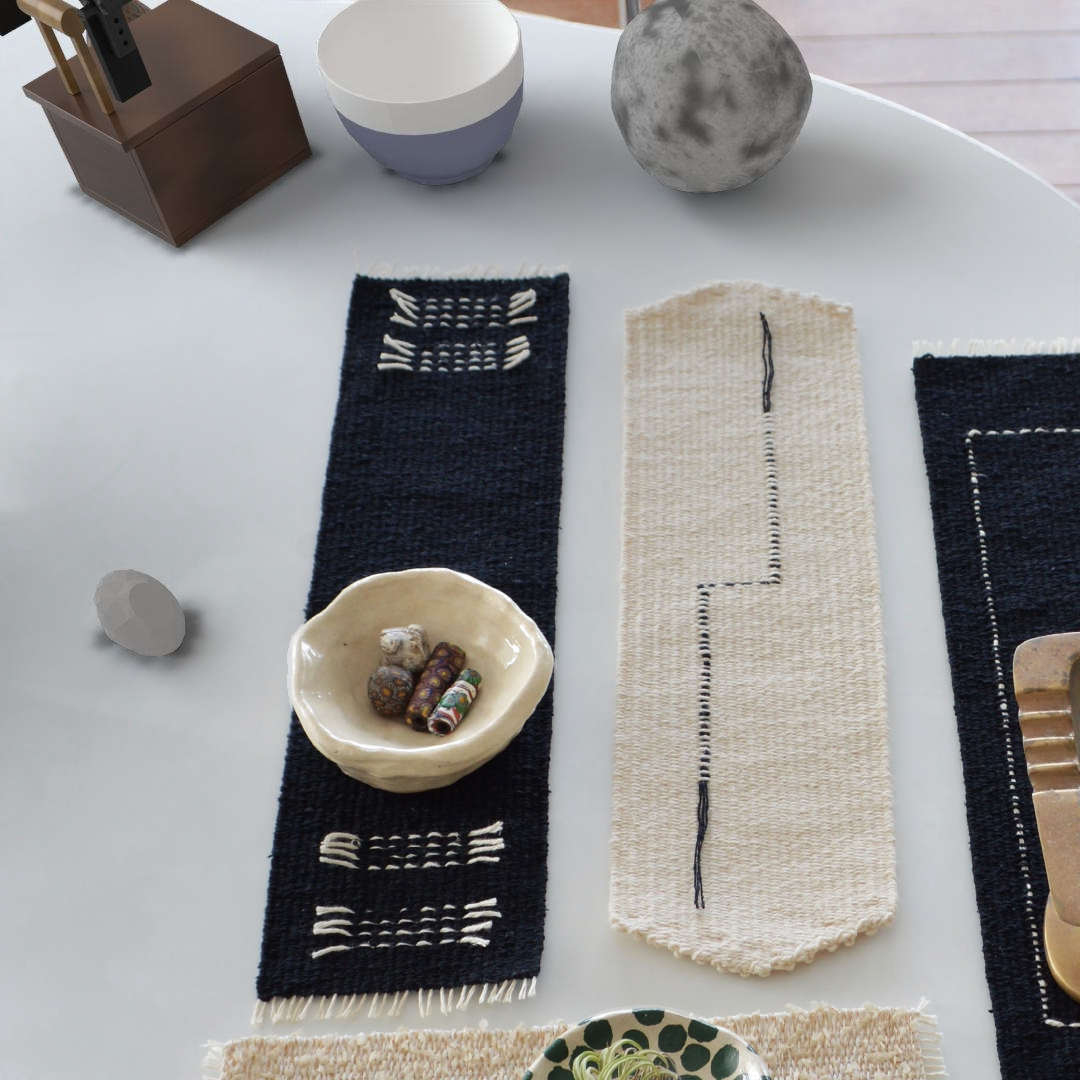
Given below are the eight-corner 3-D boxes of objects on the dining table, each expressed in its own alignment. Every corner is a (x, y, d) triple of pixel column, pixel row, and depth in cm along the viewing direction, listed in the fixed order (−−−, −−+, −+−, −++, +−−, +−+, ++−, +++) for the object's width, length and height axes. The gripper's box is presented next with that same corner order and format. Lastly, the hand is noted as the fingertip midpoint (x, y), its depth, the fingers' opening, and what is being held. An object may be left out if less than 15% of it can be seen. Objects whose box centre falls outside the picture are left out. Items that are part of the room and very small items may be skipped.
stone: (653, 109, 123) (638, -70, 110) (830, 139, 120) (835, -40, 108) (595, 219, 115) (572, 40, 102) (782, 254, 113) (782, 75, 100)
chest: (177, 248, 114) (134, 148, 106) (82, 191, 117) (34, 91, 110) (313, 154, 120) (281, 54, 112) (218, 103, 123) (182, 3, 116)
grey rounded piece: (61, 584, 93) (103, 548, 90) (151, 610, 97) (193, 577, 95) (63, 668, 90) (106, 633, 88) (155, 691, 95) (198, 659, 92)
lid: (125, 153, 106) (75, 38, 98) (25, 96, 110) (-31, -19, 102) (281, 53, 112) (245, -61, 105) (181, 2, 116) (140, -112, 108)
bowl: (559, 102, 123) (544, -8, 115) (509, 222, 115) (489, 113, 107) (381, 83, 125) (353, -27, 117) (319, 201, 117) (284, 91, 108)
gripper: (108, -240, 84) (228, 94, 103) (-146, -352, 92) (7, -23, 110) (3, -188, 81) (145, 148, 99) (-251, -308, 89) (-76, 23, 107)
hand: (73, 59), depth 105 cm, fingers open, 13 cm apart
